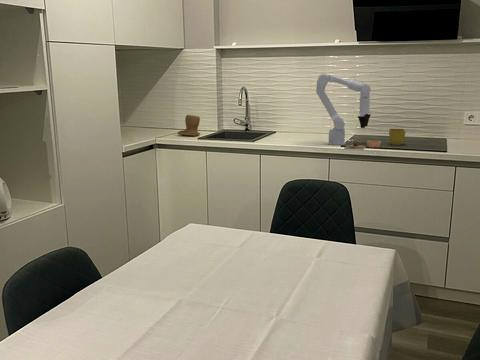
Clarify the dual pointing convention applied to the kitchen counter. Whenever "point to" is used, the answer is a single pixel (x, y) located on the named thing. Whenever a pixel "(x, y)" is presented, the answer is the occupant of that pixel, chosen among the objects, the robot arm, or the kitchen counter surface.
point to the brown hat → (191, 126)
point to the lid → (355, 145)
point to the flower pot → (396, 136)
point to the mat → (355, 148)
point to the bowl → (373, 143)
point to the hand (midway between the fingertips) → (364, 127)
